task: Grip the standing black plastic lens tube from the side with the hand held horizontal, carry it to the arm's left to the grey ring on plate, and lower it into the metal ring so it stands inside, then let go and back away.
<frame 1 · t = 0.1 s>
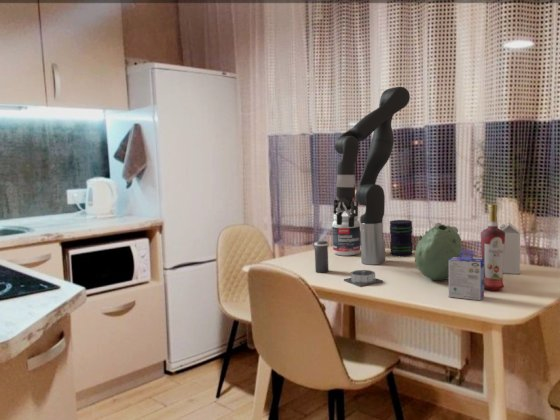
hand: (345, 225, 197), 17 cm above the table, fingers open, 8 cm apart
liquor: (492, 289, 159), on the table
supplement tub: (346, 254, 226), on the table
green bumpy vase: (438, 280, 174), on the table
storage jar: (401, 254, 219), on the table
lens tube: (322, 271, 194), on the table
ink cartridge box: (466, 297, 153), on the table
grey ring on plate: (363, 281, 176), on the table
milk carton: (508, 272, 180), on the table
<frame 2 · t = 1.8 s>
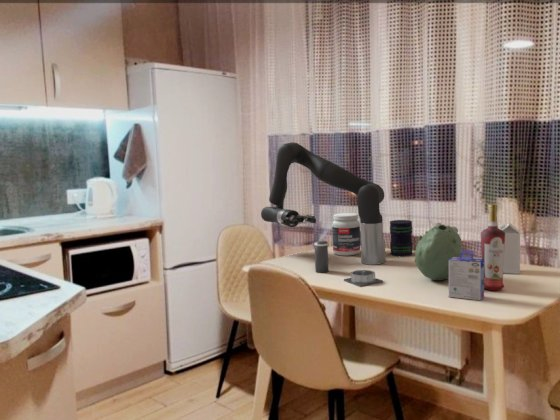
hand: (306, 221, 202), 19 cm above the table, fingers open, 8 cm apart
nothing on the table moved.
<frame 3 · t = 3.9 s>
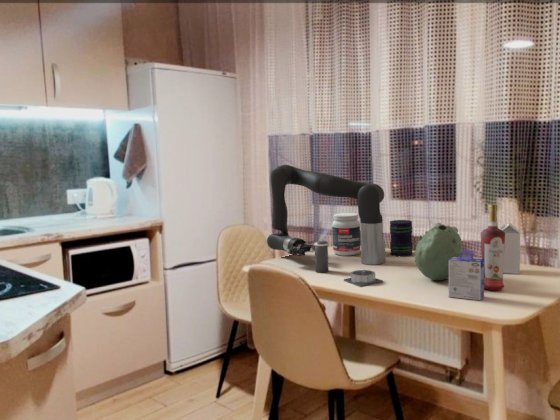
hand: (313, 251, 199), 7 cm above the table, fingers open, 8 cm apart
nothing on the table moved.
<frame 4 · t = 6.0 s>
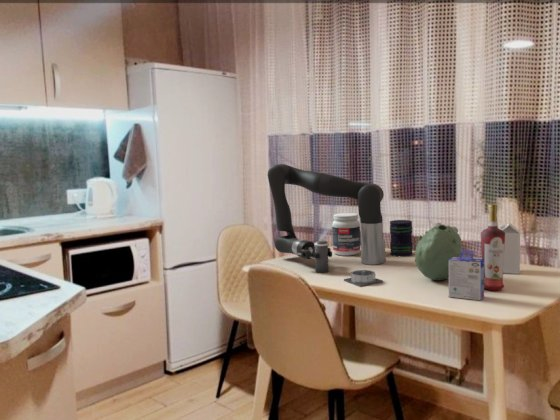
hand: (324, 255, 191), 7 cm above the table, fingers closed on lens tube, 5 cm apart
lens tube: (322, 271, 194), on the table, touching gripper
everything else where it was.
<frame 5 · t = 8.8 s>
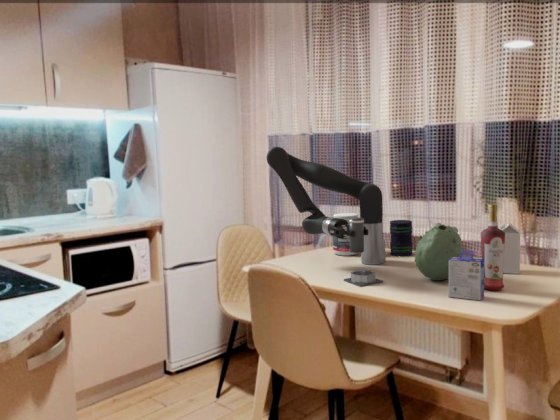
hand: (360, 233, 174), 18 cm above the table, fingers closed on lens tube, 5 cm apart
lens tube: (356, 251, 177), point 11 cm above the table, touching gripper
everything else where it was.
when the fingers open (9 cm above the table, at t = 11.7 s): lens tube drops 1 cm, resting on grey ring on plate.
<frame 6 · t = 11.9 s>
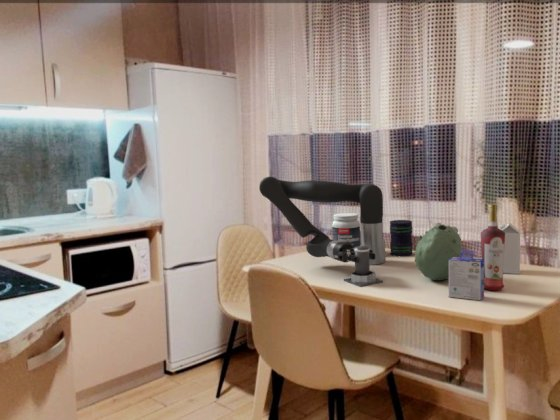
hand: (365, 258, 174), 9 cm above the table, fingers open, 7 cm apart
lens tube: (362, 279, 176), point 1 cm above the table, touching grey ring on plate
everything else where it was.
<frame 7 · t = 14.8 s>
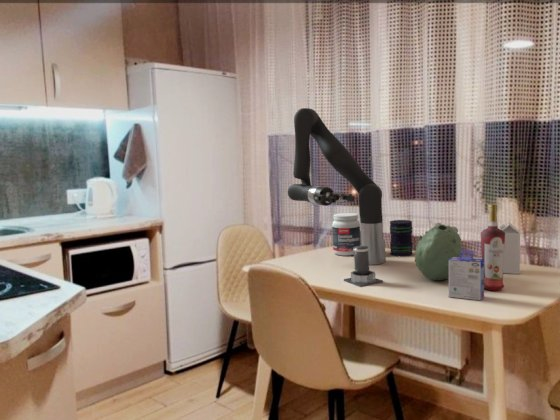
hand: (344, 199, 184), 29 cm above the table, fingers open, 8 cm apart
nothing on the table moved.
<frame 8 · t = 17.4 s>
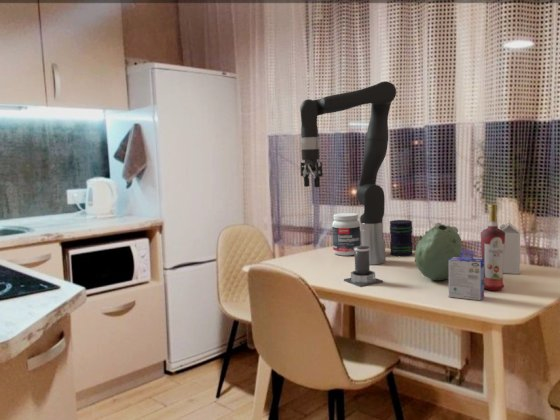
hand: (311, 186, 205), 33 cm above the table, fingers open, 8 cm apart
nothing on the table moved.
at the end: lens tube 0.1 cm off-centre on the grey ring on plate, point 0.7 cm above the grey ring on plate's base; lens tube tilted 2°; the gripper is holding nothing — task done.
